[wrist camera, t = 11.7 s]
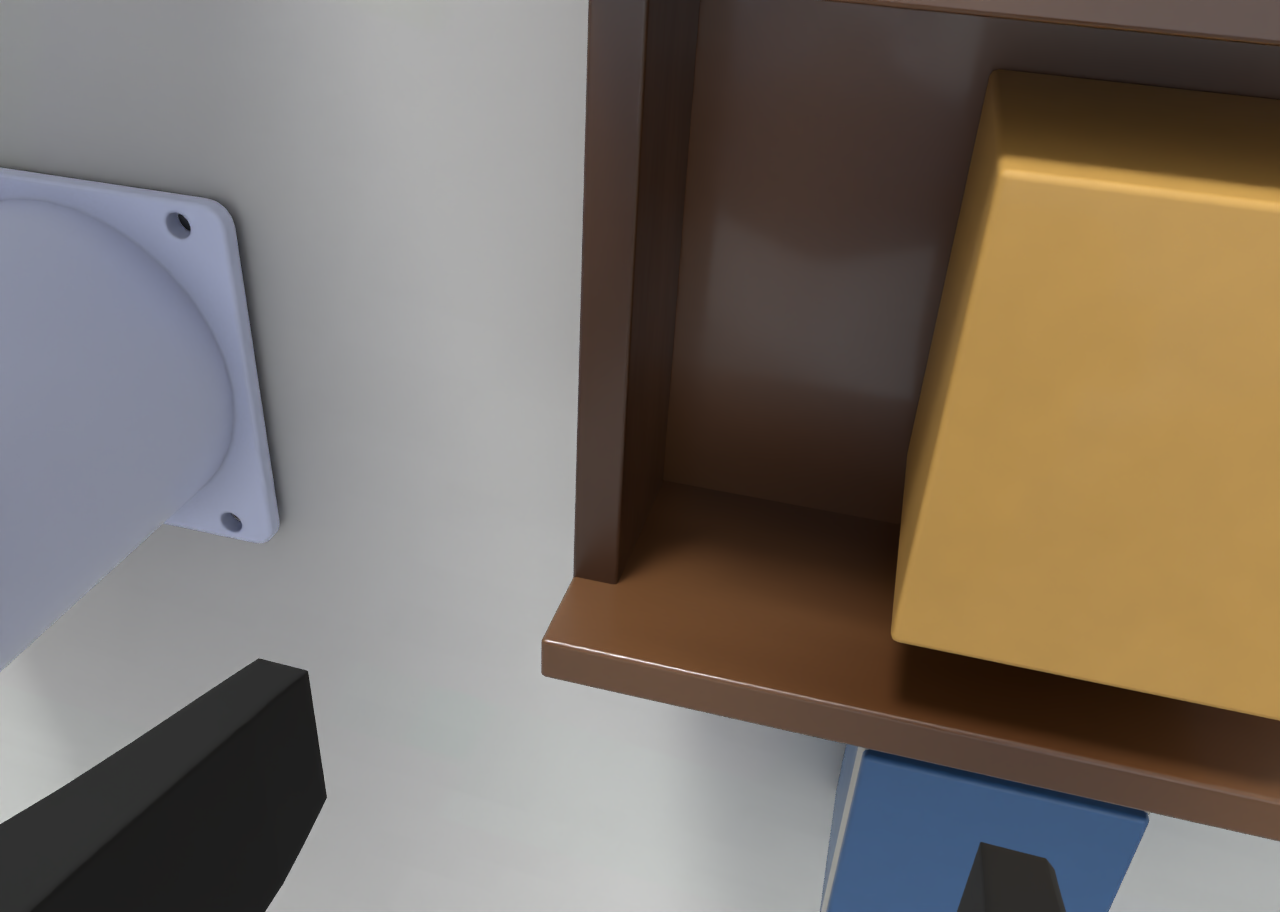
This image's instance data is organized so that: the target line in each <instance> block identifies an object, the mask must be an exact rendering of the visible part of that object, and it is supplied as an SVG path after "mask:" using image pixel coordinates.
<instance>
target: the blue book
mask: <svg viewBox="0 0 1280 912" xmlns="http://www.w3.org/2000/svg"><path fill="white" fill-rule="evenodd" d="M1148 815H1149V812H1147V811H1142V810H1138V809H1133V808H1129V807H1124V806H1120V805H1115V804H1111V803H1106V802H1102V801H1098V800H1093V799H1089V798H1084V797H1080V796H1075V795H1071V794H1066V793H1062V792H1058V791H1053V790H1049V789H1044V788H1040V787H1035V786H1031V785H1026V784H1022V783H1017V782H1013V781H1009V780H1004V779H1000V778H995V777H991V776H986V775H982V774H977V773H973V772H969V771H964V770H960V769H955V768H951V767H946V766H942V765H937V764H933V763H928V762H924V761H920V760H915V759H911V758H906V757H902V756H897V755H893V754H888V753H884V752H880V751H875V750H871V749H866V748H862V747H857V746H853V745H848V744H846V749H845V753H844V758H843V762H842V767H841V772H840V776H839V781H838V785H837V790H836V796H835V804H834V811H833V818H832V826H831V833H830V841H829V848H828V855H827V863H826V870H825V878H824V885H823V893H822V900H821V907H820V912H957V910H958V907H959V904H960V901H961V898H962V895H963V892H964V889H965V886H966V883H967V880H968V877H969V874H970V871H971V868H972V865H973V862H974V859H975V856H976V853H977V850H978V847H979V844H980V842H984V843H988V844H991V845H995V846H999V847H1003V848H1007V849H1011V850H1015V851H1019V852H1023V853H1027V854H1031V855H1035V856H1039V857H1043V858H1046V859H1047V860H1048V861H1049V863H1050V864H1051V865H1052V867H1053V868H1054V869H1055V873H1056V877H1057V881H1058V885H1059V888H1060V892H1061V896H1062V899H1063V903H1064V906H1065V910H1066V912H1108V911H1109V909H1110V907H1111V905H1112V903H1113V900H1114V898H1115V896H1116V894H1117V892H1118V889H1119V887H1120V885H1121V883H1122V880H1123V878H1124V876H1125V874H1126V872H1127V869H1128V867H1129V865H1130V863H1131V860H1132V858H1133V856H1134V854H1135V852H1136V849H1137V847H1138V845H1139V843H1140V841H1141V838H1142V836H1143V834H1144V832H1145V829H1146V827H1147V825H1148V823H1149V817H1148Z"/></svg>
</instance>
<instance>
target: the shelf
mask: <svg viewBox="0 0 1280 912" xmlns="http://www.w3.org/2000/svg"><path fill="white" fill-rule="evenodd" d="M998 69H1000V70H1009V71H1018V72H1027V73H1037V74H1046V75H1055V76H1064V77H1073V78H1082V79H1092V80H1101V81H1110V82H1119V83H1128V84H1138V85H1147V86H1156V87H1165V88H1174V89H1184V90H1193V91H1202V92H1211V93H1220V94H1230V95H1239V96H1248V97H1257V98H1266V99H1275V100H1280V0H589V9H588V46H587V84H586V122H585V159H584V197H583V235H582V272H581V310H580V348H579V385H578V423H577V461H576V499H575V536H574V574H573V579H572V581H571V583H570V585H569V587H568V589H567V591H566V593H565V595H564V597H563V599H562V601H561V603H560V605H559V607H558V609H557V611H556V613H555V615H554V617H553V619H552V621H551V623H550V625H549V627H548V629H547V631H546V633H545V635H544V637H543V639H542V652H541V672H542V675H544V676H546V677H550V678H555V679H559V680H564V681H568V682H573V683H577V684H581V685H586V686H590V687H595V688H599V689H604V690H608V691H613V692H617V693H621V694H626V695H630V696H635V697H639V698H644V699H648V700H653V701H657V702H662V703H666V704H670V705H675V706H679V707H684V708H688V709H693V710H697V711H702V712H706V713H710V714H715V715H719V716H724V717H728V718H733V719H737V720H742V721H746V722H751V723H755V724H759V725H764V726H768V727H773V728H777V729H782V730H786V731H791V732H795V733H799V734H804V735H808V736H813V737H817V738H822V739H826V740H831V741H835V742H839V743H844V744H848V745H853V746H857V747H862V748H866V749H871V750H875V751H880V752H884V753H888V754H893V755H897V756H902V757H906V758H911V759H915V760H920V761H924V762H928V763H933V764H937V765H942V766H946V767H951V768H955V769H960V770H964V771H969V772H973V773H977V774H982V775H986V776H991V777H995V778H1000V779H1004V780H1009V781H1013V782H1017V783H1022V784H1026V785H1031V786H1035V787H1040V788H1044V789H1049V790H1053V791H1058V792H1062V793H1066V794H1071V795H1075V796H1080V797H1084V798H1089V799H1093V800H1098V801H1102V802H1106V803H1111V804H1115V805H1120V806H1124V807H1129V808H1133V809H1138V810H1142V811H1147V812H1151V813H1155V814H1160V815H1164V816H1169V817H1173V818H1178V819H1182V820H1187V821H1191V822H1195V823H1200V824H1204V825H1209V826H1213V827H1218V828H1222V829H1227V830H1231V831H1236V832H1240V833H1244V834H1249V835H1253V836H1258V837H1262V838H1267V839H1271V840H1276V841H1280V721H1279V720H1274V719H1270V718H1265V717H1260V716H1255V715H1250V714H1245V713H1240V712H1236V711H1231V710H1226V709H1221V708H1216V707H1211V706H1206V705H1202V704H1197V703H1192V702H1187V701H1182V700H1177V699H1172V698H1168V697H1163V696H1158V695H1153V694H1148V693H1143V692H1138V691H1134V690H1129V689H1124V688H1119V687H1114V686H1109V685H1104V684H1100V683H1095V682H1090V681H1085V680H1080V679H1075V678H1070V677H1066V676H1061V675H1056V674H1051V673H1046V672H1041V671H1036V670H1032V669H1027V668H1022V667H1017V666H1012V665H1007V664H1002V663H998V662H993V661H988V660H983V659H978V658H973V657H968V656H964V655H959V654H954V653H949V652H944V651H939V650H934V649H930V648H925V647H920V646H915V645H910V644H905V643H900V642H897V641H895V640H893V639H892V636H891V624H892V613H893V602H894V591H895V581H896V570H897V559H898V548H899V538H900V527H901V516H902V505H903V495H904V484H905V473H906V462H907V453H908V449H909V444H910V440H911V435H912V430H913V426H914V421H915V416H916V412H917V407H918V403H919V398H920V393H921V389H922V384H923V380H924V375H925V370H926V366H927V361H928V357H929V352H930V347H931V343H932V338H933V334H934V329H935V324H936V320H937V315H938V311H939V306H940V301H941V297H942V292H943V288H944V283H945V278H946V274H947V269H948V265H949V260H950V255H951V251H952V246H953V242H954V237H955V232H956V228H957V223H958V219H959V214H960V209H961V205H962V200H963V196H964V191H965V186H966V182H967V177H968V173H969V168H970V163H971V159H972V154H973V150H974V145H975V140H976V136H977V131H978V126H979V122H980V117H981V113H982V108H983V103H984V99H985V94H986V90H987V85H988V80H989V76H990V75H991V73H992V72H993V71H995V70H998Z"/></svg>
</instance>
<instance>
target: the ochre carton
mask: <svg viewBox="0 0 1280 912" xmlns="http://www.w3.org/2000/svg"><path fill="white" fill-rule="evenodd" d="M891 636H892V639H893V640H895V641H897V642H900V643H905V644H910V645H915V646H920V647H925V648H930V649H934V650H939V651H944V652H949V653H954V654H959V655H964V656H968V657H973V658H978V659H983V660H988V661H993V662H998V663H1002V664H1007V665H1012V666H1017V667H1022V668H1027V669H1032V670H1036V671H1041V672H1046V673H1051V674H1056V675H1061V676H1066V677H1070V678H1075V679H1080V680H1085V681H1090V682H1095V683H1100V684H1104V685H1109V686H1114V687H1119V688H1124V689H1129V690H1134V691H1138V692H1143V693H1148V694H1153V695H1158V696H1163V697H1168V698H1172V699H1177V700H1182V701H1187V702H1192V703H1197V704H1202V705H1206V706H1211V707H1216V708H1221V709H1226V710H1231V711H1236V712H1240V713H1245V714H1250V715H1255V716H1260V717H1265V718H1270V719H1274V720H1279V721H1280V100H1275V99H1266V98H1257V97H1248V96H1239V95H1230V94H1220V93H1211V92H1202V91H1193V90H1184V89H1174V88H1165V87H1156V86H1147V85H1138V84H1128V83H1119V82H1110V81H1101V80H1092V79H1082V78H1073V77H1064V76H1055V75H1046V74H1037V73H1027V72H1018V71H1009V70H1000V69H998V70H995V71H993V72H992V73H991V75H990V76H989V80H988V85H987V90H986V94H985V99H984V103H983V108H982V113H981V117H980V122H979V126H978V131H977V136H976V140H975V145H974V150H973V154H972V159H971V163H970V168H969V173H968V177H967V182H966V186H965V191H964V196H963V200H962V205H961V209H960V214H959V219H958V223H957V228H956V232H955V237H954V242H953V246H952V251H951V255H950V260H949V265H948V269H947V274H946V278H945V283H944V288H943V292H942V297H941V301H940V306H939V311H938V315H937V320H936V324H935V329H934V334H933V338H932V343H931V347H930V352H929V357H928V361H927V366H926V370H925V375H924V380H923V384H922V389H921V393H920V398H919V403H918V407H917V412H916V416H915V421H914V426H913V430H912V435H911V440H910V444H909V449H908V453H907V462H906V473H905V484H904V495H903V505H902V516H901V527H900V538H899V548H898V559H897V570H896V581H895V591H894V602H893V613H892V624H891Z"/></svg>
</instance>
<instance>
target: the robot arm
mask: <svg viewBox="0 0 1280 912" xmlns="http://www.w3.org/2000/svg"><path fill="white" fill-rule="evenodd" d="M178 213H179V214H181V215H183V216H184V217H185V218H186V219H187V220H188V222H189V225H190V227H191V230H190V231H189V230H186V229H185V228H184V227H183V226H182V225H181V223H180V220H179V218H178ZM232 514H234V515H236V516H237V517H238V518H239V519H240V521H239V520H237V519H236V518H235V517H234V516H233V515H232ZM162 524H168V525H173V526H177V527H182V528H187V529H192V530H196V531H201V532H206V533H210V534H215V535H220V536H225V537H229V538H234V539H239V540H243V541H248V542H253V543H265V542H267V541H269V540H270V539H271V538H272V537H273V536H274V535H275V534H276V532H277V531H278V529H279V524H280V521H279V515H278V508H277V501H276V495H275V488H274V481H273V475H272V468H271V461H270V455H269V448H268V441H267V435H266V428H265V422H264V415H263V408H262V402H261V395H260V388H259V382H258V375H257V368H256V362H255V355H254V349H253V342H252V335H251V329H250V322H249V315H248V309H247V302H246V295H245V289H244V282H243V276H242V269H241V262H240V256H239V249H238V242H237V236H236V229H235V225H234V222H233V219H232V217H231V215H230V214H229V212H228V211H227V209H226V208H225V207H223V206H222V205H221V204H220V203H218V202H217V201H214V200H211V199H208V198H202V197H196V196H189V195H182V194H176V193H169V192H162V191H155V190H149V189H142V188H135V187H129V186H122V185H115V184H109V183H102V182H95V181H88V180H82V179H75V178H68V177H62V176H55V175H48V174H41V173H35V172H28V171H21V170H15V169H8V168H1V167H0V672H1V671H2V670H3V669H4V668H5V667H6V666H7V665H8V664H10V663H11V662H12V661H13V660H14V659H15V658H16V657H17V656H18V655H19V654H20V653H22V652H23V651H24V650H25V649H26V648H27V647H28V646H29V645H30V644H31V643H33V642H34V641H35V640H36V639H37V638H38V637H39V636H40V635H41V634H42V633H44V632H45V631H46V630H47V629H48V628H49V627H50V626H51V625H52V624H53V623H54V622H56V621H57V620H58V619H59V618H60V617H61V616H62V615H63V614H64V613H65V612H67V611H68V610H69V609H70V608H71V607H72V606H73V605H74V604H75V603H76V602H77V601H79V600H80V599H81V598H82V597H83V596H84V595H85V594H86V593H87V592H88V591H90V590H91V589H92V588H93V587H94V586H95V585H96V584H97V583H98V582H99V581H101V580H102V579H103V578H104V577H105V576H106V575H107V574H108V573H109V572H110V571H111V570H113V569H114V568H115V567H116V566H117V565H118V564H119V563H120V562H121V561H122V560H124V559H125V558H126V557H127V556H128V555H129V554H130V553H131V552H132V551H133V550H135V549H136V548H137V547H138V546H139V545H140V544H141V543H142V542H143V541H144V540H145V539H147V538H148V537H149V536H150V535H151V534H152V533H153V532H154V531H155V530H156V529H158V528H159V527H160V526H161V525H162ZM326 798H327V795H326V789H325V782H324V775H323V768H322V762H321V755H320V748H319V742H318V735H317V728H316V722H315V715H314V708H313V702H312V695H311V688H310V682H309V675H308V671H306V670H302V669H298V668H295V667H291V666H287V665H283V664H279V663H275V662H271V661H267V660H263V659H257V660H256V661H254V662H252V663H251V664H249V665H248V666H246V667H245V668H243V669H242V670H240V671H238V672H237V673H235V674H234V675H232V676H231V677H229V678H228V679H226V680H225V681H223V682H222V683H220V684H219V685H217V686H216V687H214V688H213V689H211V690H210V691H208V692H207V693H205V694H204V695H202V696H201V697H199V698H198V699H196V700H195V701H193V702H192V703H190V704H189V705H187V706H186V707H184V708H183V709H181V710H180V711H178V712H177V713H175V714H174V715H172V716H171V717H169V718H168V719H166V720H165V721H163V722H162V723H160V724H159V725H157V726H156V727H154V728H153V729H151V730H150V731H148V732H147V733H145V734H144V735H142V736H141V737H139V738H138V739H136V740H135V741H133V742H132V743H130V744H129V745H127V746H125V747H124V748H122V749H121V750H119V751H118V752H116V753H115V754H113V755H111V756H110V757H108V758H107V759H105V760H104V761H102V762H101V763H99V764H98V765H96V766H94V767H93V768H91V769H90V770H88V771H87V772H85V773H84V774H82V775H80V776H79V777H77V778H76V779H74V780H73V781H71V782H70V783H68V784H67V785H65V786H63V787H62V788H60V789H59V790H57V791H55V792H54V793H52V794H50V795H49V796H47V797H45V798H44V799H42V800H40V801H39V802H37V803H35V804H34V805H32V806H30V807H28V808H27V809H25V810H23V811H22V812H20V813H18V814H17V815H15V816H13V817H12V818H10V819H8V820H7V821H5V822H3V823H2V824H0V912H265V911H266V909H267V908H268V906H269V905H270V903H271V902H272V900H273V898H274V897H275V895H276V894H277V892H278V891H279V889H280V888H281V886H282V885H283V883H284V881H285V879H286V877H287V875H288V873H289V872H290V870H291V868H292V866H293V864H294V862H295V860H296V858H297V856H298V855H299V853H300V851H301V849H302V847H303V845H304V843H305V841H306V839H307V837H308V835H309V833H310V831H311V829H312V827H313V825H314V823H315V821H316V819H317V817H318V815H319V813H320V811H321V809H322V807H323V804H324V802H325V800H326ZM957 912H1066V910H1065V906H1064V903H1063V899H1062V896H1061V892H1060V888H1059V885H1058V881H1057V877H1056V873H1055V869H1054V868H1053V867H1052V865H1051V864H1050V863H1049V861H1048V860H1047V859H1046V858H1043V857H1039V856H1035V855H1031V854H1027V853H1023V852H1019V851H1015V850H1011V849H1007V848H1003V847H999V846H995V845H991V844H988V843H984V842H980V844H979V847H978V850H977V853H976V856H975V859H974V862H973V865H972V868H971V871H970V874H969V877H968V880H967V883H966V886H965V889H964V892H963V895H962V898H961V901H960V904H959V907H958V910H957Z"/></svg>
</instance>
